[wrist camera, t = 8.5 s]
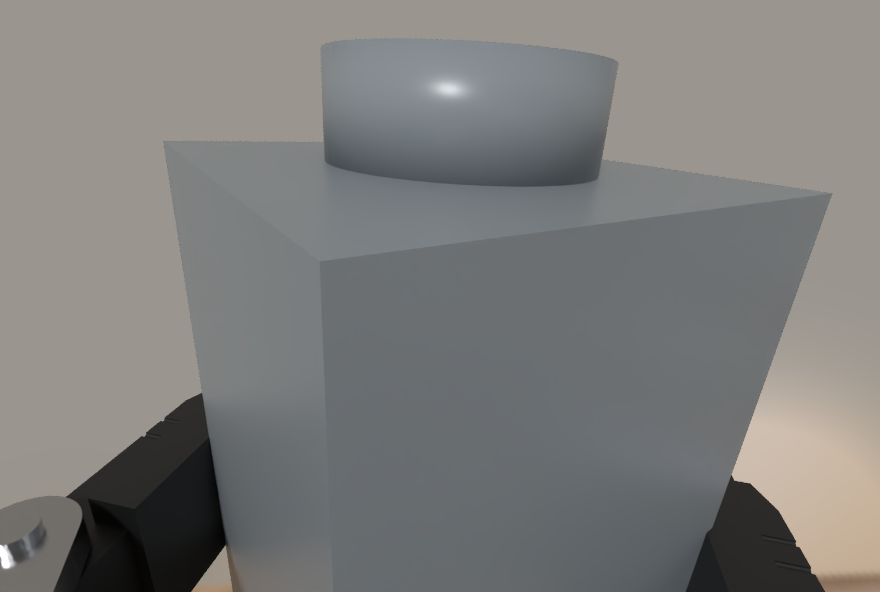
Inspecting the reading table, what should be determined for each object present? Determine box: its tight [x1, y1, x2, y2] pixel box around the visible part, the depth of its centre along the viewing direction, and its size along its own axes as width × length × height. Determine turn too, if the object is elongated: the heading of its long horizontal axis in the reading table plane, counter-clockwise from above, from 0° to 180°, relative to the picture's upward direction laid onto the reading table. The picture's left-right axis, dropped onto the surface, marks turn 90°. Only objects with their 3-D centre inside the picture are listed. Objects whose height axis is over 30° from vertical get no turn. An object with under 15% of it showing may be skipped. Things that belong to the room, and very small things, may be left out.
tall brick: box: [163, 39, 832, 592], centre depth 7 cm, size 5×5×13 cm
